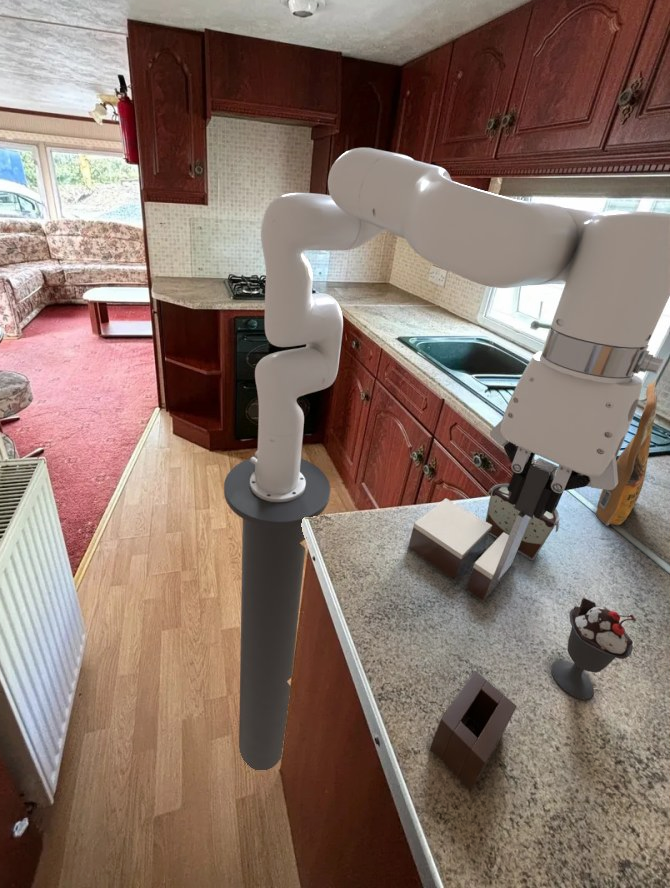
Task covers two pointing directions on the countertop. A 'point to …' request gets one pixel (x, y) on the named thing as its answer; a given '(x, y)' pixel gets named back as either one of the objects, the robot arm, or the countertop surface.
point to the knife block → (459, 742)
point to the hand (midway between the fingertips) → (528, 505)
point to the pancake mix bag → (630, 468)
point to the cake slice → (487, 569)
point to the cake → (449, 538)
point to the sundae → (591, 647)
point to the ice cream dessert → (504, 518)
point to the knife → (525, 509)
